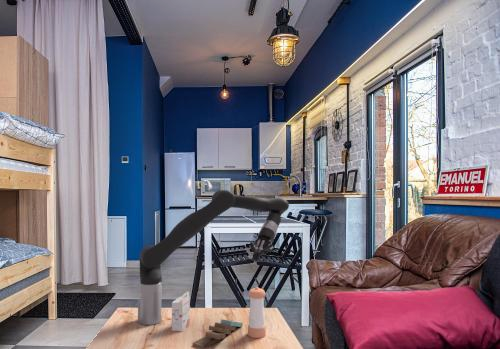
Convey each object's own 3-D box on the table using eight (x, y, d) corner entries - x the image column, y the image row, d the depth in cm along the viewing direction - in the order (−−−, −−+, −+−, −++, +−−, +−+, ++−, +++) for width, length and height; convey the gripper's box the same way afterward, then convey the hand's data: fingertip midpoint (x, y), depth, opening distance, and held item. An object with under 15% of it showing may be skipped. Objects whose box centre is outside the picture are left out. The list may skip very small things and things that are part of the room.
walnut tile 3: (220, 327, 158) (209, 325, 150) (231, 330, 156) (220, 327, 147) (219, 332, 157) (208, 329, 149) (230, 334, 155) (219, 332, 147)
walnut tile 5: (209, 334, 152) (192, 342, 144) (219, 337, 149) (202, 345, 141) (209, 338, 152) (192, 347, 144) (219, 341, 149) (202, 350, 141)
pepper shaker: (251, 339, 150) (252, 290, 151) (245, 332, 157) (245, 285, 158) (268, 336, 153) (268, 288, 154) (261, 330, 160) (261, 284, 161)
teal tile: (232, 321, 167) (221, 319, 158) (242, 323, 164) (231, 321, 156) (232, 324, 166) (220, 323, 158) (242, 326, 164) (230, 325, 156)
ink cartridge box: (178, 323, 167) (179, 289, 168) (189, 324, 166) (190, 290, 167) (171, 330, 159) (171, 295, 159) (182, 331, 158) (182, 295, 158)
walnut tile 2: (225, 324, 162) (215, 322, 154) (236, 326, 160) (226, 324, 151) (224, 328, 161) (214, 326, 153) (235, 330, 159) (225, 328, 151)
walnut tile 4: (214, 330, 153) (206, 331, 144) (225, 333, 151) (218, 334, 142) (213, 335, 152) (205, 336, 143) (225, 337, 151) (217, 339, 142)
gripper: (253, 225, 189) (239, 254, 178) (277, 227, 182) (263, 257, 171) (259, 235, 193) (245, 264, 183) (282, 237, 186) (269, 267, 175)
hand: (254, 260), depth 177 cm, fingers closed
